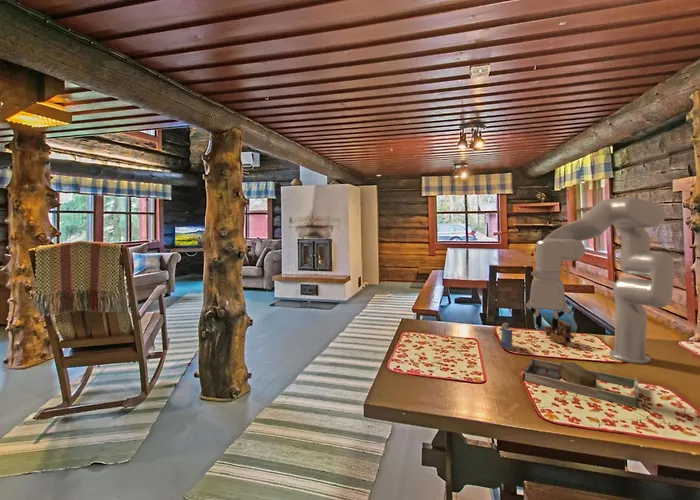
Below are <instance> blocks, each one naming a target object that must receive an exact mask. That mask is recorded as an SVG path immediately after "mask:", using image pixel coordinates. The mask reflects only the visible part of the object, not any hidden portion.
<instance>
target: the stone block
mask: <svg viewBox="0 0 700 500" xmlns="http://www.w3.org/2000/svg"><path fill="white" fill-rule="evenodd" d="M559 364H560V365H559V369H558V374H559V375H560V378H563V379H564V380H565V381H566V382H569V383H573V384H578V385H582V386H587V387H591V388H596V389H597V386H598V385H597V383H598V382H597V379H596V375H595V374H593V373H591V372H590V371H588V370H589V369H587V368H584V367H583V366H581V365H579V364H578V363H575V362H574V361H567V362H565V361H564V362H563V361H562V362H561V363H559Z"/></svg>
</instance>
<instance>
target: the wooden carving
mask: <svg viewBox="0 0 700 500" xmlns="http://www.w3.org/2000/svg"><path fill="white" fill-rule="evenodd" d="M572 330H573V329H572V326H571V325H569V324H568V323H567V322H566V321H565V320H562V319H561V320H559V319H558V328H556V329H555V330H552V322H551V325H550V326H549V325H545V326H544V332H545V336H546V337H550V339H551V340H552V341H553V342H555V343H557V344H565V345H567V344H570V343H572V340H571V339H575V336H574V335H572V333H571V332H572Z"/></svg>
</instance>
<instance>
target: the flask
mask: <svg viewBox="0 0 700 500" xmlns="http://www.w3.org/2000/svg"><path fill="white" fill-rule="evenodd" d="M500 345H501V347H502V348H503V349H504V350H507V351H508V350H510V351H512V350H513V329H512V328H510V327H509V323H508V322H503V324H501V341H500Z"/></svg>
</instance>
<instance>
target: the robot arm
mask: <svg viewBox="0 0 700 500" xmlns="http://www.w3.org/2000/svg"><path fill="white" fill-rule="evenodd" d="M665 218H666V212H665V210H664V207H662V206H661V204H658V203H656V202H652V201H648V200H646V199H642V198H639V197H633V196H632V197H627V196H626V197H618V198H607V199H603V200H601V201H599V202H598V203H597V204H596V205H594V206H593V207H592V208H591V209H590V210H589V211H588V212H587V213H586V214H584V216H581V218H579V219H576V220H574V221H572V222H570V223H568V224H566V225H562V226H560V227H558V228H556V229H555V230H553V231H551V232H550V233H549V234H548V235H547V236H546V237H544V239H541V240H538V241H537V242H536V245H535V270H534V271H531V272H530V276H533V277H534V278H532V281H531V286H530V296H529V300H528V301H527V302H526V304H525V305H524V306H525V308H526V309H529V310H530V311H531V313H533V314H534V316H535V325H536V326H537V329H540V328H542V325H543V324H542V323H543V322H542V321H543V316H542V314H541V312H542V310H549V311H552V313H553V317H552V319H551V320H552V321H551V323H552V325H551V326H552V330H555V329H556V328H558V320H559V319H560V318H561V317H562V316H563V315H566V314H568V313H570V312H571V311H572V310H571V308H570V307H569V305H568V303H567V302H566V298H565V285H564V281H563V279H561V277H562V276H561V274H562V272H561V271H562V261H565V262H567V261H569V262H574V261H578V260H580V259H581V258H582V257H583V256H584V255H585V252H586V246H585V245H584V244H583V241H586V240H587V241H588V240H592V239H594V238H598V237H600V236H601V235H602V234H603V233H605V231H607V230H608V229H609V227H611V226H612V227H614V228H615V229H616V230H617V232H618V233H619V235H620V240H621V248H620V260H619V261H620V263H619V265H620V270H621V271H622V272H623V273H625V274H627V275H633V276H640V277H650V278H651V280H649V279H645V278H644V279H643V278H635V277H623V278H619V279H617V280H616V281H615V282H614V284H613V288H612V289H613V296H614V302H615V324H614V325H615V326H614V349H611V350H610V351H609V356H610V357H611V358H614V359H616V360H620V361H622V362H626V363H631V364H641V365H642V364H645V365H646V364H649V363H651V361H652V359H651V357H650V356H649V355H647V354H646V353H647V351H646V349H647V328H648V327H647V326H648V325H647V324H648V315H647V311H646V309H645V308H644V306H649V307H652V308H653V307H655V308H665V307H667V306H669V304H670V303H671V301H672V299H673V292H674V291H673V290H674V279H675V278H674V277H675V261H674V258H673V257H672V256H671V255H670V254H669V253H667V252H664V251H657V250H656V251H653V250H651V238H650V235H649V233H648V231H647V230H646V229H645V228H657V227H659V226H660V225H661V224H663V222H664V221H665ZM581 241H582V242H581Z"/></svg>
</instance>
